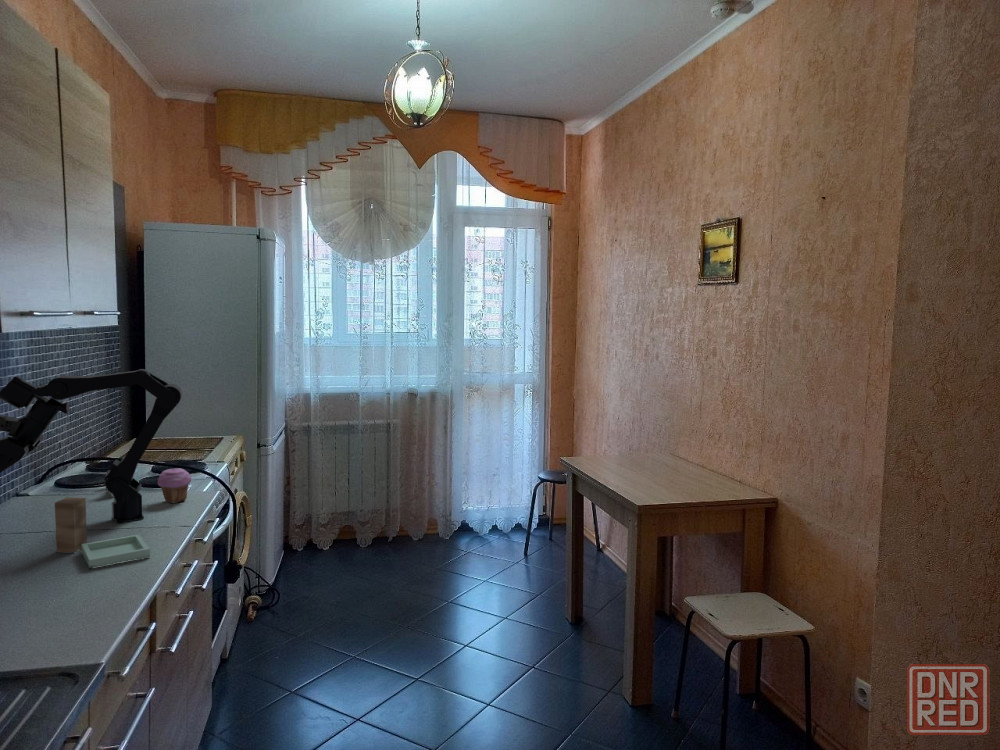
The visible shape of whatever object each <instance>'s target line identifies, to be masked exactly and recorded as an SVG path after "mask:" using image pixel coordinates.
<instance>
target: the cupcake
mask: <svg viewBox="0 0 1000 750" xmlns="http://www.w3.org/2000/svg"><path fill="white" fill-rule="evenodd" d="M191 482H192V476H191V475H190V473H189V472H188V471H187V470H186V469H184V468H180V467H179V468H178V467H177V468H168V469H165V470H163V471H162V472H161V473H160V474H159V476H158V479H157V485H158V486H159V487H160V488H161V491H162V495H163V498H164V500H165V501H166V502H168V503H170V504H176V503H179V502H183V501H186V499H187V497H188V489H189V486H190V484H191Z"/></svg>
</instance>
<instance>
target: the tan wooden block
mask: <svg viewBox="0 0 1000 750" xmlns="http://www.w3.org/2000/svg"><path fill="white" fill-rule="evenodd" d="M86 503H87V502H86V497H69V496H68V497H64V498H62V499H60V500H58V501H56V502H54V517H55V541H56V543H55V545H56V553H57V552H77V551H78V550H80V549H82V544H85V543H88V531H87V504H86ZM80 551H81V550H80ZM78 552H79V551H78ZM78 552H77V553H78Z"/></svg>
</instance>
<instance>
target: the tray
mask: <svg viewBox="0 0 1000 750" xmlns="http://www.w3.org/2000/svg"><path fill="white" fill-rule="evenodd" d="M81 554H82V557H83V556H84V557H83V559H84V558H85V559H84V561H85V560H86V561H85V563H86V562H87V563H86V565H87V564H88V565H87V567H88V566H89V567H88V569H89V568H93V567H97V566H103V565H107V564H113V563H117V562H122V561H128V560H134V559H142V558H147V557H150V558H151V550H150V547H149V546H148V545H147V543H146V541H145V540H144V539H143V538H142V537H141V534H131V535H128V536H123V537H122V536H121V537H115V538H109V539H108V538H107V539H103V540H98V541H92V542H87V543H85V544H82V550H81ZM142 560H143V559H142Z"/></svg>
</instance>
